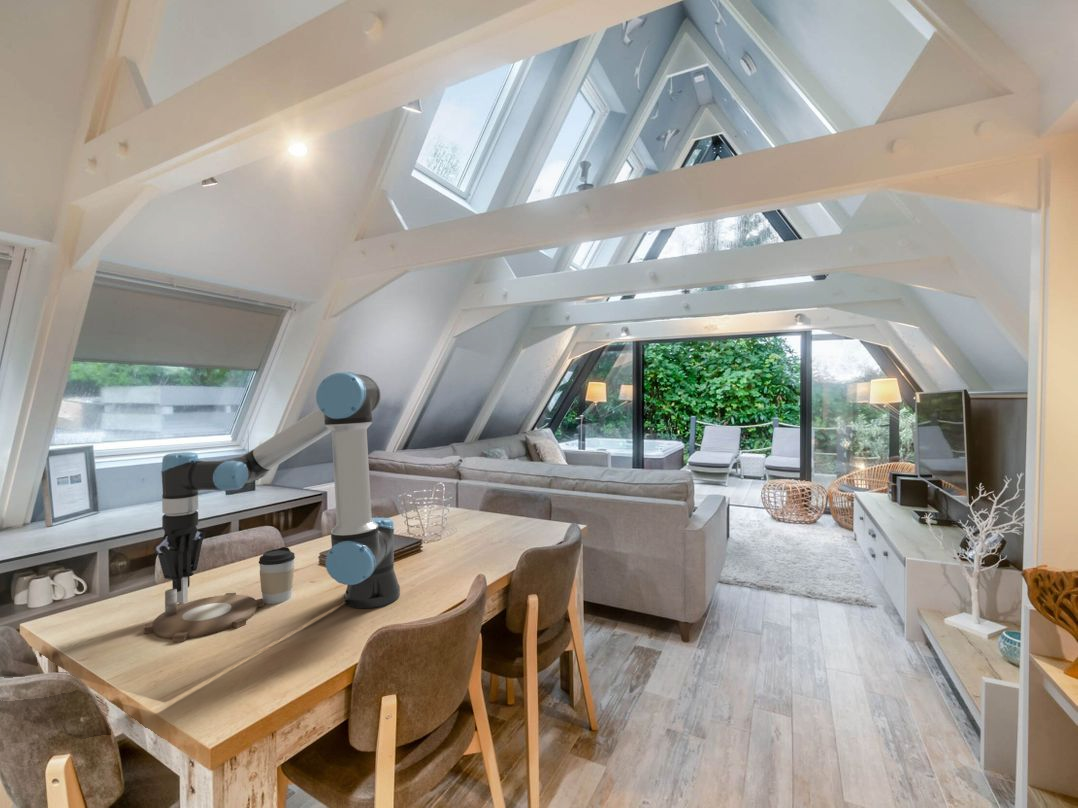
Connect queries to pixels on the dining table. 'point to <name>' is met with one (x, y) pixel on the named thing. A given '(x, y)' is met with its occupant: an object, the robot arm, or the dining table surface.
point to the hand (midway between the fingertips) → (181, 601)
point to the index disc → (202, 615)
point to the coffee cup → (276, 575)
